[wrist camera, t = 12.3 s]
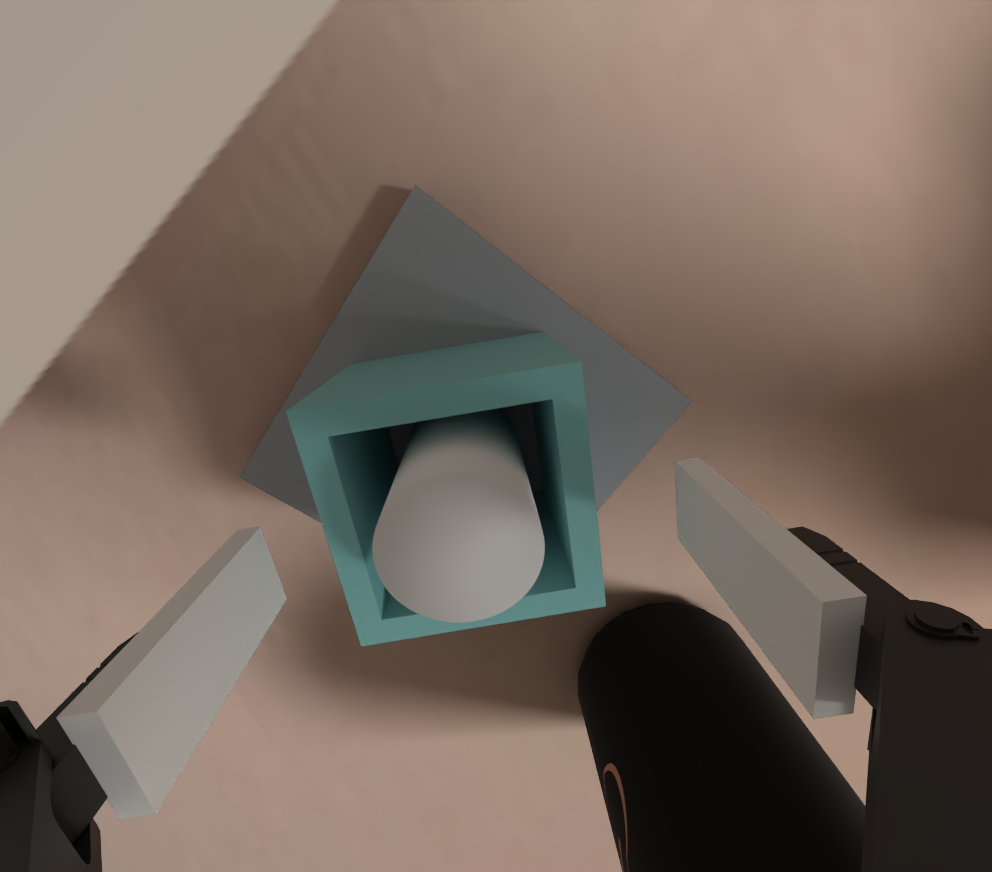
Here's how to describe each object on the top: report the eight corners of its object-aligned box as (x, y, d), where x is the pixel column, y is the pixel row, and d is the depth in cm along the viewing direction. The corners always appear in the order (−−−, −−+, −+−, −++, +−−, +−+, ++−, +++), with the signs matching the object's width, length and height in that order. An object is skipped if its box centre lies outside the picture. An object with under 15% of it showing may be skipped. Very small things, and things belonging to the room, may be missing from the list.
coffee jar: (543, 643, 29) (641, 1150, 12) (699, 564, 28) (1052, 1012, 11) (616, 746, 33) (775, 1263, 16) (760, 680, 31) (1106, 1167, 14)
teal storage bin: (543, 331, 22) (581, 361, 14) (564, 504, 25) (605, 606, 17) (350, 364, 22) (286, 411, 14) (395, 532, 25) (361, 646, 17)
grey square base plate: (679, 393, 24) (844, 487, 14) (499, 605, 28) (516, 812, 17) (419, 191, 21) (361, 98, 10) (252, 465, 25) (78, 615, 14)
